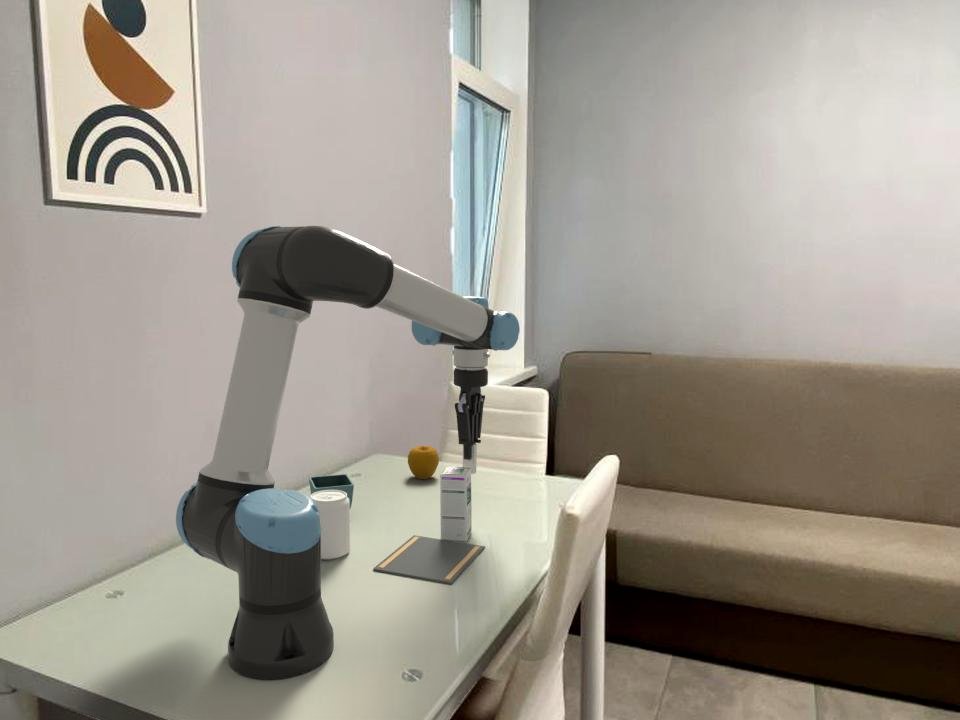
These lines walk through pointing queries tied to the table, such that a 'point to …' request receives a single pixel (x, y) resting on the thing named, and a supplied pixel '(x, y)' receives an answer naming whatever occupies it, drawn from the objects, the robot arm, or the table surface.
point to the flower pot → (332, 484)
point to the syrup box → (455, 503)
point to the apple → (423, 461)
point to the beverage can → (333, 522)
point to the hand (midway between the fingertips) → (469, 472)
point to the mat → (430, 559)
